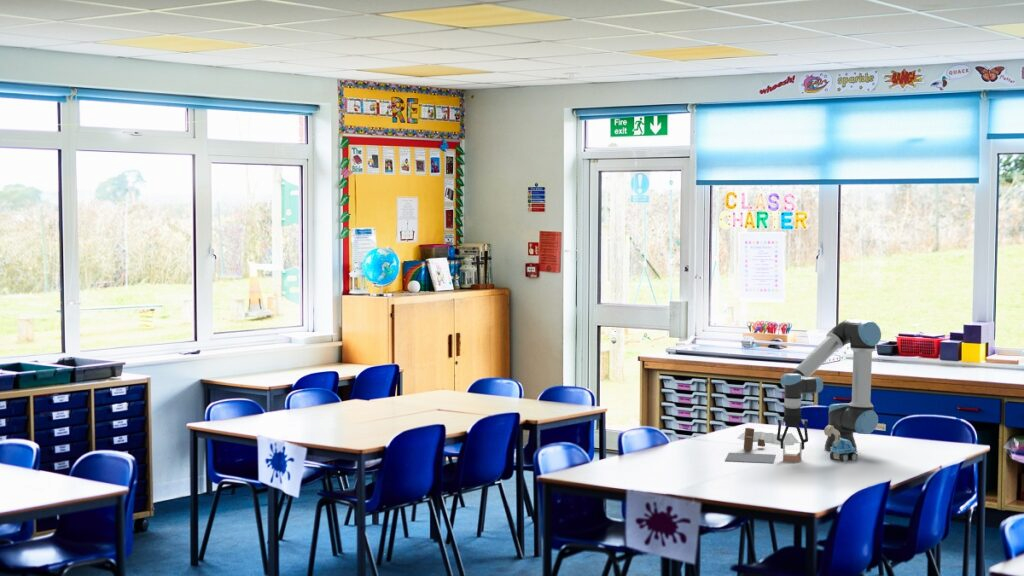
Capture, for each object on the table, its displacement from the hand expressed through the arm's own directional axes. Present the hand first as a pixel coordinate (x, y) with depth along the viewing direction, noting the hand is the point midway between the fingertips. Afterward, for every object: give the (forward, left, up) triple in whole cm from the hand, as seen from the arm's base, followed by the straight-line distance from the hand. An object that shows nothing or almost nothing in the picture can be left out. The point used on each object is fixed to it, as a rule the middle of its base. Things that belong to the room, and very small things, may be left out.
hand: (792, 456), depth 570 cm
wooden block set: (+21, -24, -3) cm, 32 cm away
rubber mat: (+19, 0, -2) cm, 19 cm away
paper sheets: (+12, -57, -3) cm, 59 cm away
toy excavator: (-21, -7, -3) cm, 22 cm away
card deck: (0, 0, -2) cm, 2 cm away
